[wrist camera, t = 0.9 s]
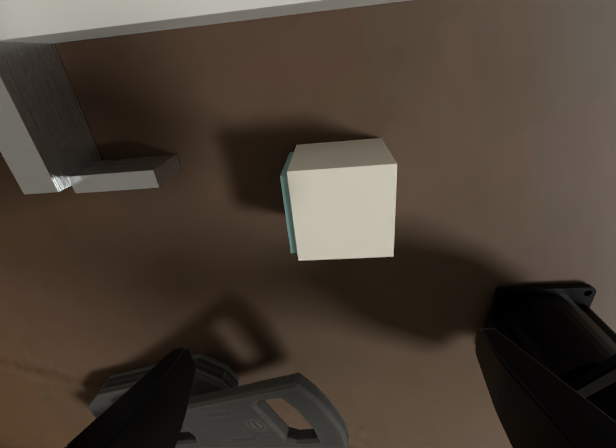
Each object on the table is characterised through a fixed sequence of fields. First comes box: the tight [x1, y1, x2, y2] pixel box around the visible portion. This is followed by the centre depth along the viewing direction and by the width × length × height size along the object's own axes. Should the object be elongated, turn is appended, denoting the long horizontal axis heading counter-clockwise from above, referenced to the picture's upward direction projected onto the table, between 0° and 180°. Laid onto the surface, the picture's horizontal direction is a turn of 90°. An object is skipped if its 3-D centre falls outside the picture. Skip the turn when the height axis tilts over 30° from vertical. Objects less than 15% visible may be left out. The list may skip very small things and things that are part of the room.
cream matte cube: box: [280, 138, 397, 261], centre depth 18 cm, size 5×5×5 cm
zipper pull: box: [88, 353, 349, 448], centre depth 27 cm, size 9×7×25 cm
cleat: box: [0, 41, 181, 194], centre depth 17 cm, size 7×8×4 cm
